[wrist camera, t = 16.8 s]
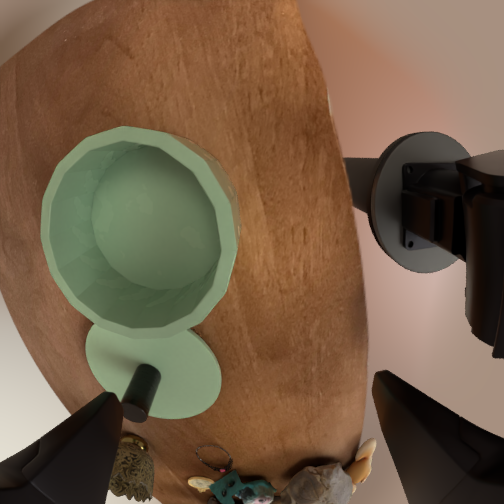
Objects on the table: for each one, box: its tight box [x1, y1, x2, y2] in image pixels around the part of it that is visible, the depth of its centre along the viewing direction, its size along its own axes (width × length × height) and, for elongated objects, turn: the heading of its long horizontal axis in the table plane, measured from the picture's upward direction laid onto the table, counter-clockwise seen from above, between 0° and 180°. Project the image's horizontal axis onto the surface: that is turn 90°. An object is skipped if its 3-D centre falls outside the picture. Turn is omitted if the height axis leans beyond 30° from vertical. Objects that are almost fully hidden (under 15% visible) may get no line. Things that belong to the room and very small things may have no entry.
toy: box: [345, 438, 376, 494], centre depth 29 cm, size 3×17×5 cm
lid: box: [86, 323, 221, 423], centre depth 21 cm, size 13×13×6 cm
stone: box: [280, 463, 353, 504], centre depth 26 cm, size 11×7×10 cm
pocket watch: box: [188, 477, 215, 493], centre depth 31 cm, size 6×4×1 cm, turn 173°
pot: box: [40, 126, 241, 339], centre depth 17 cm, size 12×12×6 cm
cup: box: [108, 434, 154, 502], centre depth 24 cm, size 8×7×8 cm
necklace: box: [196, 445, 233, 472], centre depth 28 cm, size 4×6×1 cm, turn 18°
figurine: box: [209, 470, 277, 504], centre depth 27 cm, size 12×9×8 cm
